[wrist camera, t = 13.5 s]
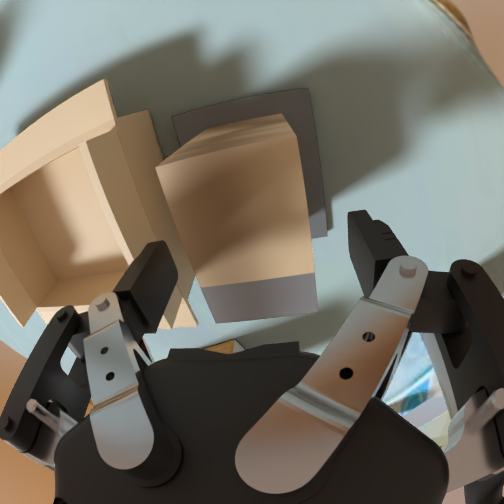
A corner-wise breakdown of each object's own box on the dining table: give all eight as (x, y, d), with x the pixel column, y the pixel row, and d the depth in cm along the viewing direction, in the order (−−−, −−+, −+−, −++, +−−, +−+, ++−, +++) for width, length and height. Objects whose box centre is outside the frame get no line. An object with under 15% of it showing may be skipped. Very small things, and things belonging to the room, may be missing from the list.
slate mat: (306, 88, 15) (308, 88, 15) (326, 232, 21) (327, 236, 21) (174, 115, 17) (171, 116, 16) (214, 249, 22) (213, 253, 22)
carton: (140, 78, 15) (70, 82, 8) (208, 284, 25) (190, 357, 18) (1, 162, 18) (-52, 196, 11) (68, 298, 27) (38, 347, 21)
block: (281, 113, 16) (296, 136, 8) (300, 222, 20) (317, 311, 13) (205, 129, 17) (154, 167, 9) (234, 232, 21) (216, 323, 13)
